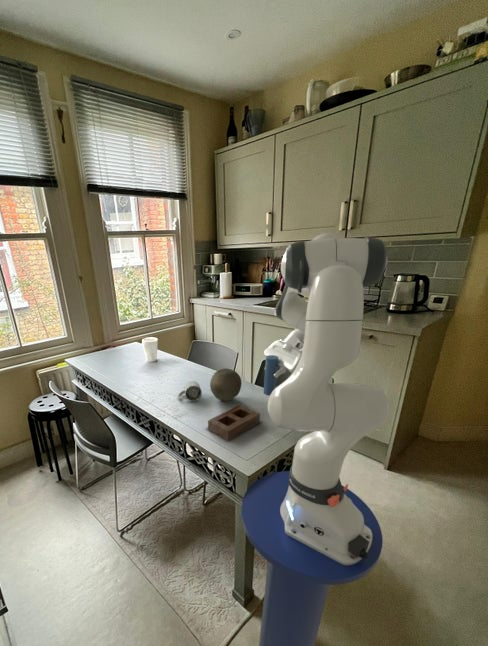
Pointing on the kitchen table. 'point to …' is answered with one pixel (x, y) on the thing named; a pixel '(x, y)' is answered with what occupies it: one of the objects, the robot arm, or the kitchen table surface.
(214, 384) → the cantaloupe
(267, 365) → the peg
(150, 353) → the foam cup
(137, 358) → the kitchen table surface
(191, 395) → the ceramic mug
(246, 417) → the peg block
